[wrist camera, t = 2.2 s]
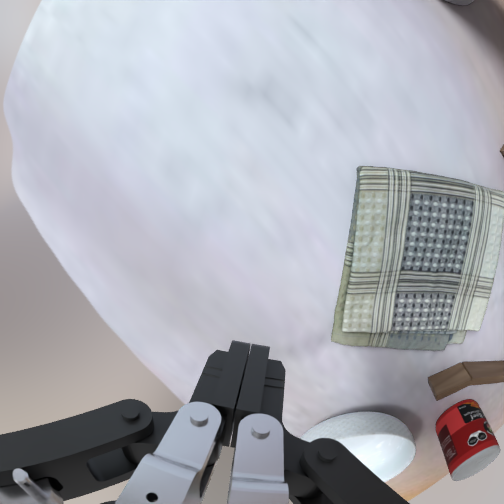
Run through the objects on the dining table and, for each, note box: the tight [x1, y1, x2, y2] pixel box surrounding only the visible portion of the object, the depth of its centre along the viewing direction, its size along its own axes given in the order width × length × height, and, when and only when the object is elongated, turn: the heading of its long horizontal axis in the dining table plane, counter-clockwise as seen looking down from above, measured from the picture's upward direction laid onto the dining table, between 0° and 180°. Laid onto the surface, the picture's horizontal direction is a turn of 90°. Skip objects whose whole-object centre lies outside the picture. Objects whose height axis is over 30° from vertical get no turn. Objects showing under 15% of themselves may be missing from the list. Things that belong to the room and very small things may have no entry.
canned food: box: [436, 399, 500, 481], centre depth 26 cm, size 8×8×11 cm
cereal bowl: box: [300, 411, 416, 482], centre depth 31 cm, size 17×17×7 cm
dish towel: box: [331, 166, 504, 351], centre depth 25 cm, size 19×18×3 cm
